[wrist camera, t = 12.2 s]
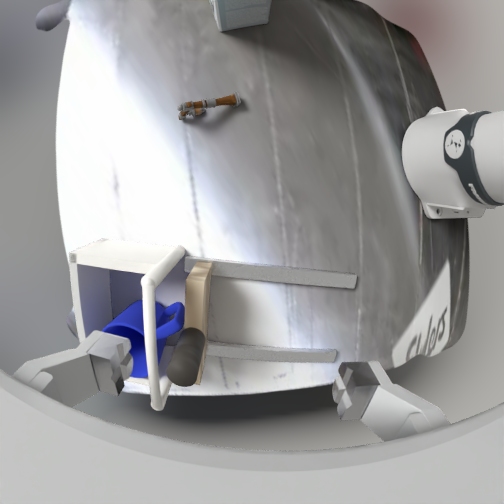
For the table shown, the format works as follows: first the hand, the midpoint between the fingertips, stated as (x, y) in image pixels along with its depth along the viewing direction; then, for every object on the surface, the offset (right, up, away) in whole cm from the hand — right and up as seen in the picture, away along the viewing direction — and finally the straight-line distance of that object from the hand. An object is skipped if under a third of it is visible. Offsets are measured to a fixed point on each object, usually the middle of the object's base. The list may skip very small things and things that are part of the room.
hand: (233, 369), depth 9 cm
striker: (-6, -4, +28) cm, 29 cm away
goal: (-16, -3, +28) cm, 33 cm away
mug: (-13, -5, +29) cm, 32 cm away
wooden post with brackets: (-5, +23, +23) cm, 33 cm away
